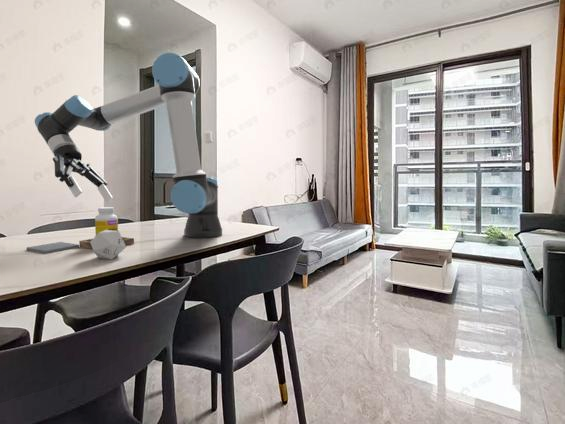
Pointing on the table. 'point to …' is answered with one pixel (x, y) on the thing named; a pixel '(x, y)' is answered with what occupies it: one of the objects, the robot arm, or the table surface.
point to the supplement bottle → (106, 220)
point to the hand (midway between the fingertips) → (95, 197)
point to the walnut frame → (88, 245)
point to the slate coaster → (52, 247)
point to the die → (107, 244)
